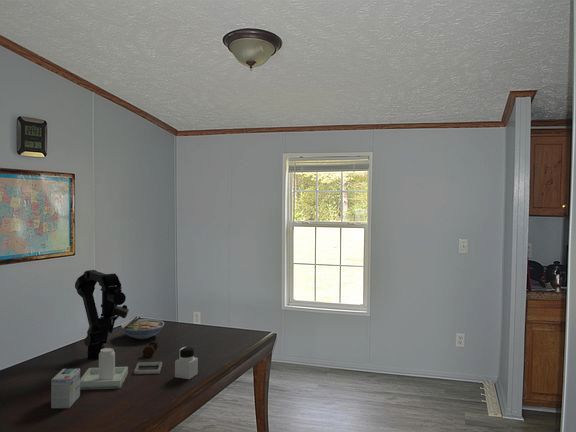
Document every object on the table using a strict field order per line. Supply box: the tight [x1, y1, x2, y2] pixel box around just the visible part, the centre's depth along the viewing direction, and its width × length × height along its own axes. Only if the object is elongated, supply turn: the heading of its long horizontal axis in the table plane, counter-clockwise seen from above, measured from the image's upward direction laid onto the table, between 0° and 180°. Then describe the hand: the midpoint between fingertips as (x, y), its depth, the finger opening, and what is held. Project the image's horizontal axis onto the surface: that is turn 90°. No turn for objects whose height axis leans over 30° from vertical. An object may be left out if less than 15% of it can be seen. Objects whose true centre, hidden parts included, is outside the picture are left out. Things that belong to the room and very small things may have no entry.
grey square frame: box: [133, 361, 163, 375], centre depth 206 cm, size 11×11×2 cm
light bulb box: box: [50, 368, 81, 409], centre depth 171 cm, size 11×7×11 cm, turn 5°
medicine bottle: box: [174, 346, 199, 380], centre depth 199 cm, size 7×7×12 cm
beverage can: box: [98, 347, 116, 380], centre depth 192 cm, size 6×6×12 cm
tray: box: [80, 366, 129, 391], centre depth 192 cm, size 16×16×3 cm
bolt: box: [142, 340, 159, 358], centre depth 230 cm, size 6×5×15 cm
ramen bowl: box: [120, 316, 165, 340], centre depth 254 cm, size 25×23×8 cm
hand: (108, 335), depth 212 cm, fingers open, 9 cm apart
